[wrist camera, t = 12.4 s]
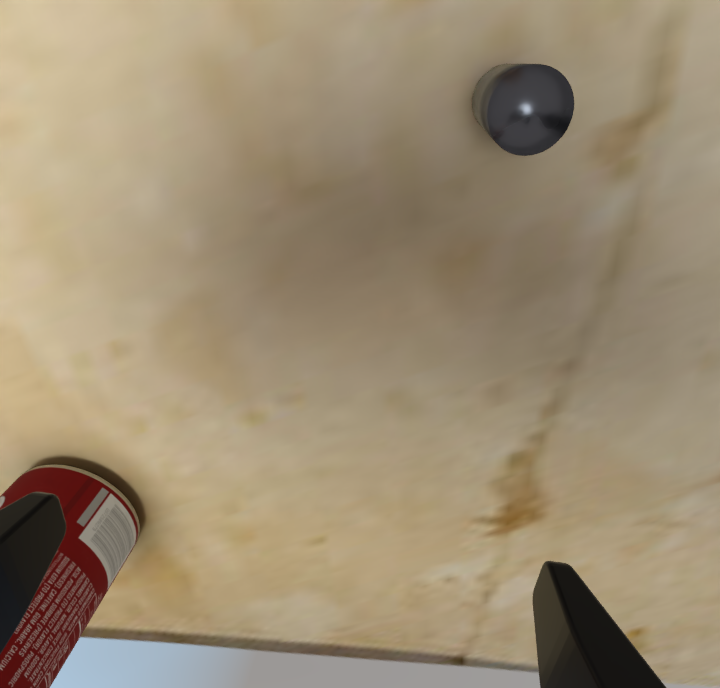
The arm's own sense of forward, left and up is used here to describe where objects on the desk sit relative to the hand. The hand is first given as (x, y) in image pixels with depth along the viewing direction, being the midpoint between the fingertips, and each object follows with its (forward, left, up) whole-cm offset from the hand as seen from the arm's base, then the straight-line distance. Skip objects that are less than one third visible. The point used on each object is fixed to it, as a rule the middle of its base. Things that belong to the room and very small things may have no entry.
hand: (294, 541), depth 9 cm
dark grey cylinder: (-4, -7, -12) cm, 14 cm away
